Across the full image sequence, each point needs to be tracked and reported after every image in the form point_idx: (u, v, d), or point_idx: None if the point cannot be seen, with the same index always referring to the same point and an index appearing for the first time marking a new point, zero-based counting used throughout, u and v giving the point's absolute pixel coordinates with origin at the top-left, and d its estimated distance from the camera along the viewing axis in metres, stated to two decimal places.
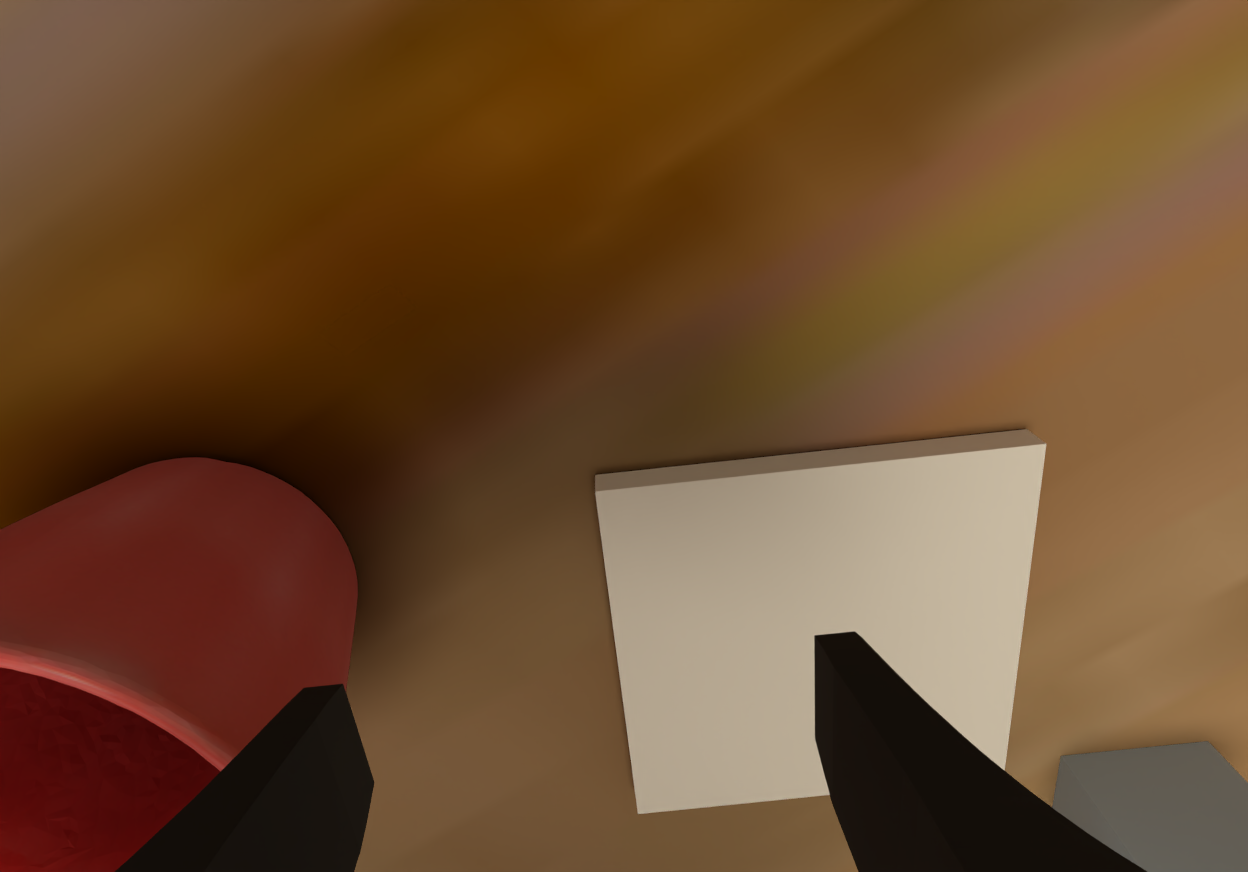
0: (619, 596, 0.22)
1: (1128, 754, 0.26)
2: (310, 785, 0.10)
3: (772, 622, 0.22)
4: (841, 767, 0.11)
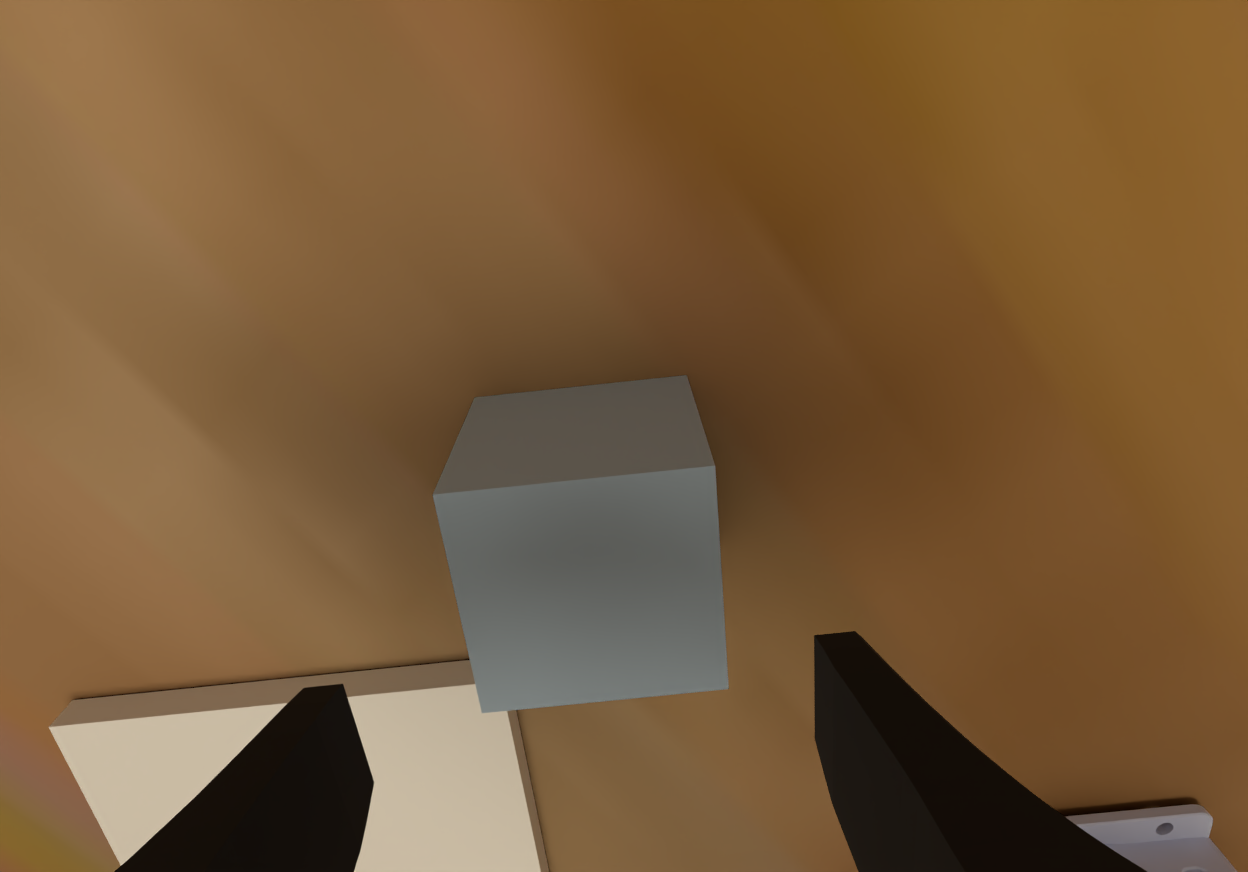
0: None
1: None
2: (310, 785, 0.10)
3: None
4: (841, 767, 0.11)
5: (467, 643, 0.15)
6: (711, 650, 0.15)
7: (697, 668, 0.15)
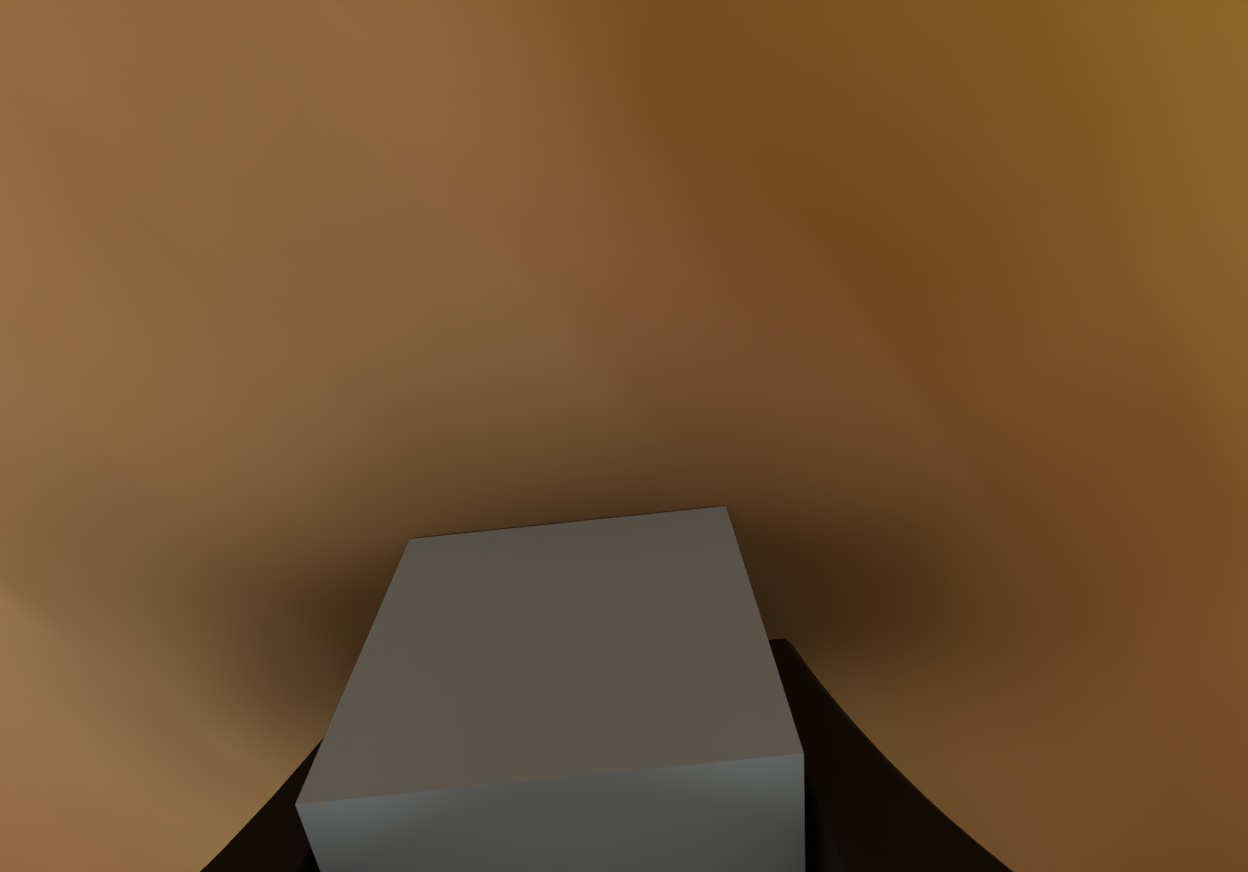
0: None
1: None
2: None
3: None
4: None
5: None
6: None
7: None
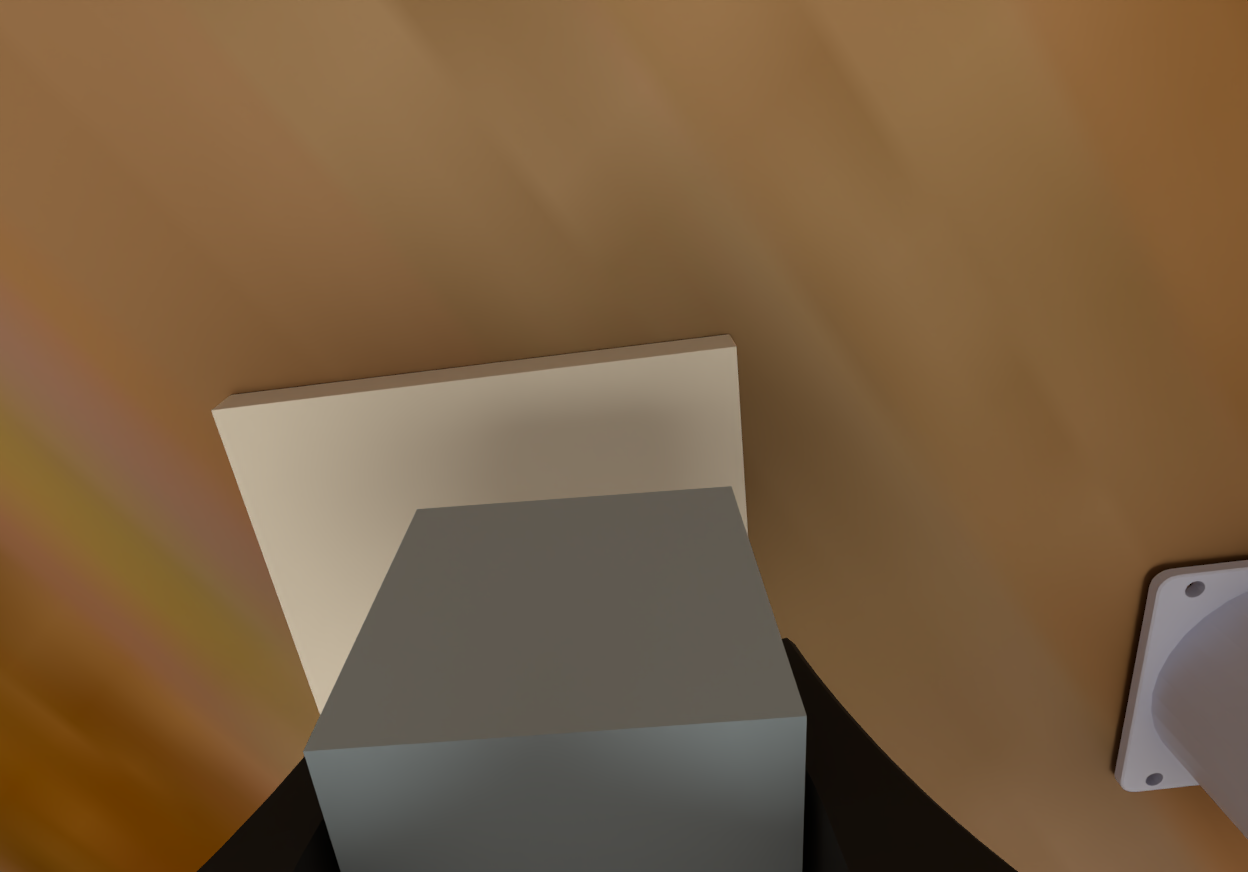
0: None
1: None
2: None
3: None
4: None
5: None
6: None
7: None
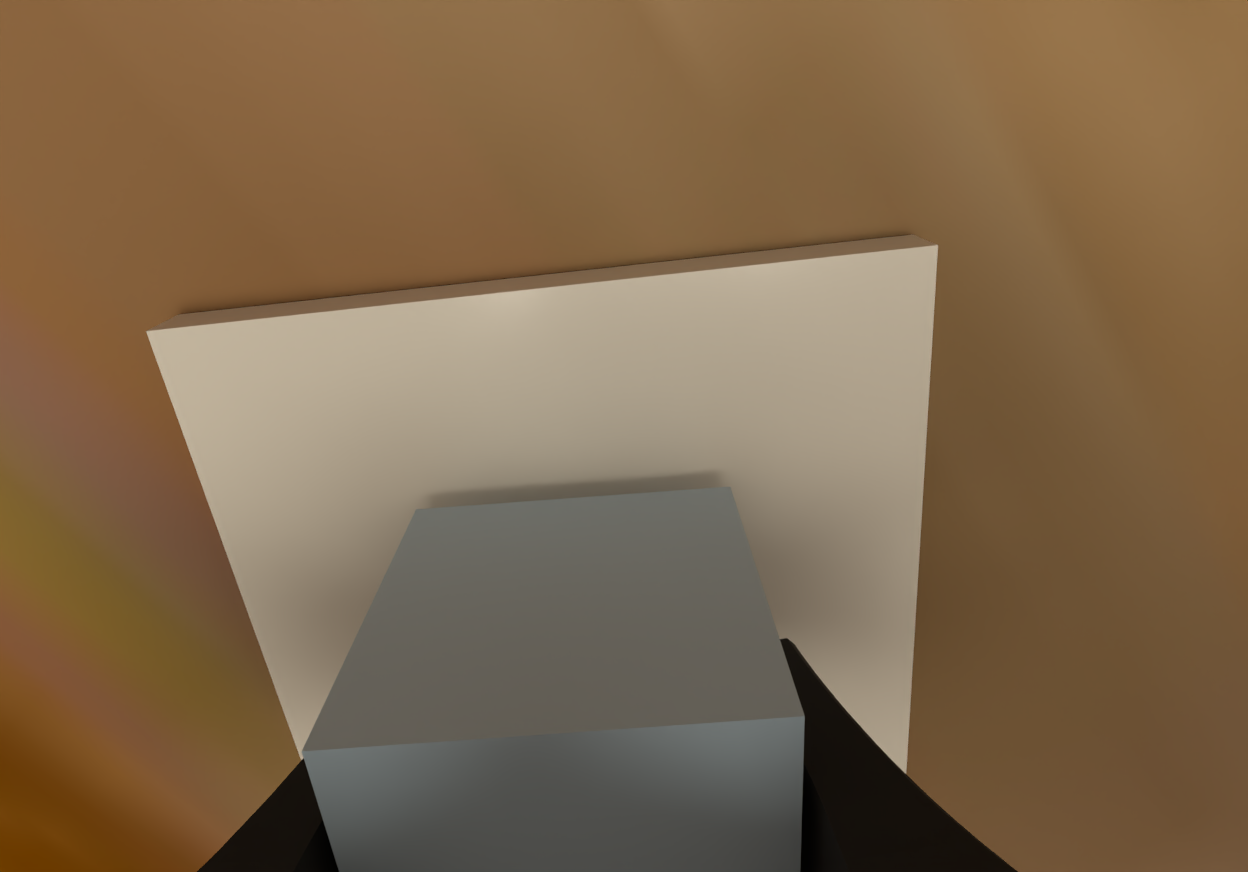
0: None
1: None
2: None
3: None
4: None
5: None
6: None
7: None
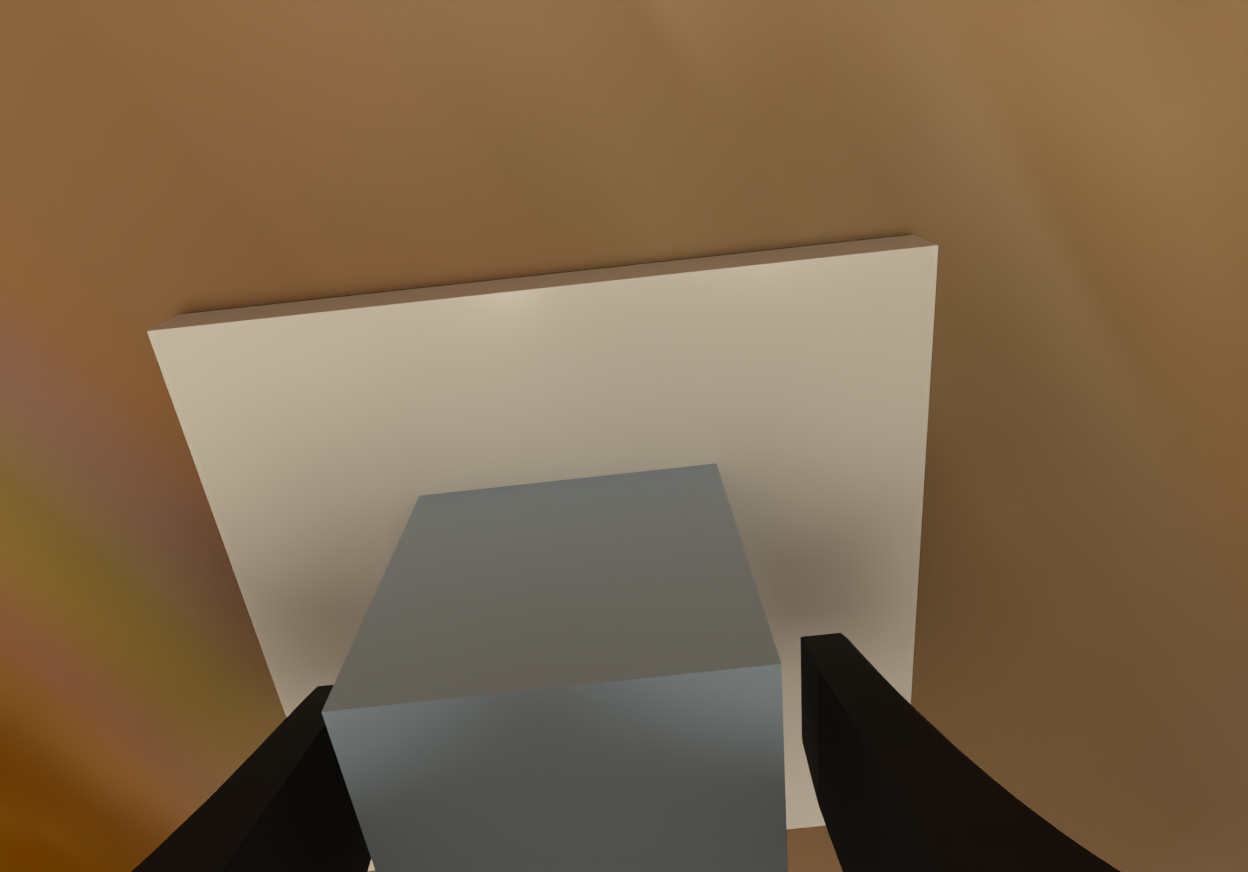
0: None
1: None
2: (325, 783, 0.10)
3: None
4: (826, 768, 0.11)
5: None
6: None
7: None
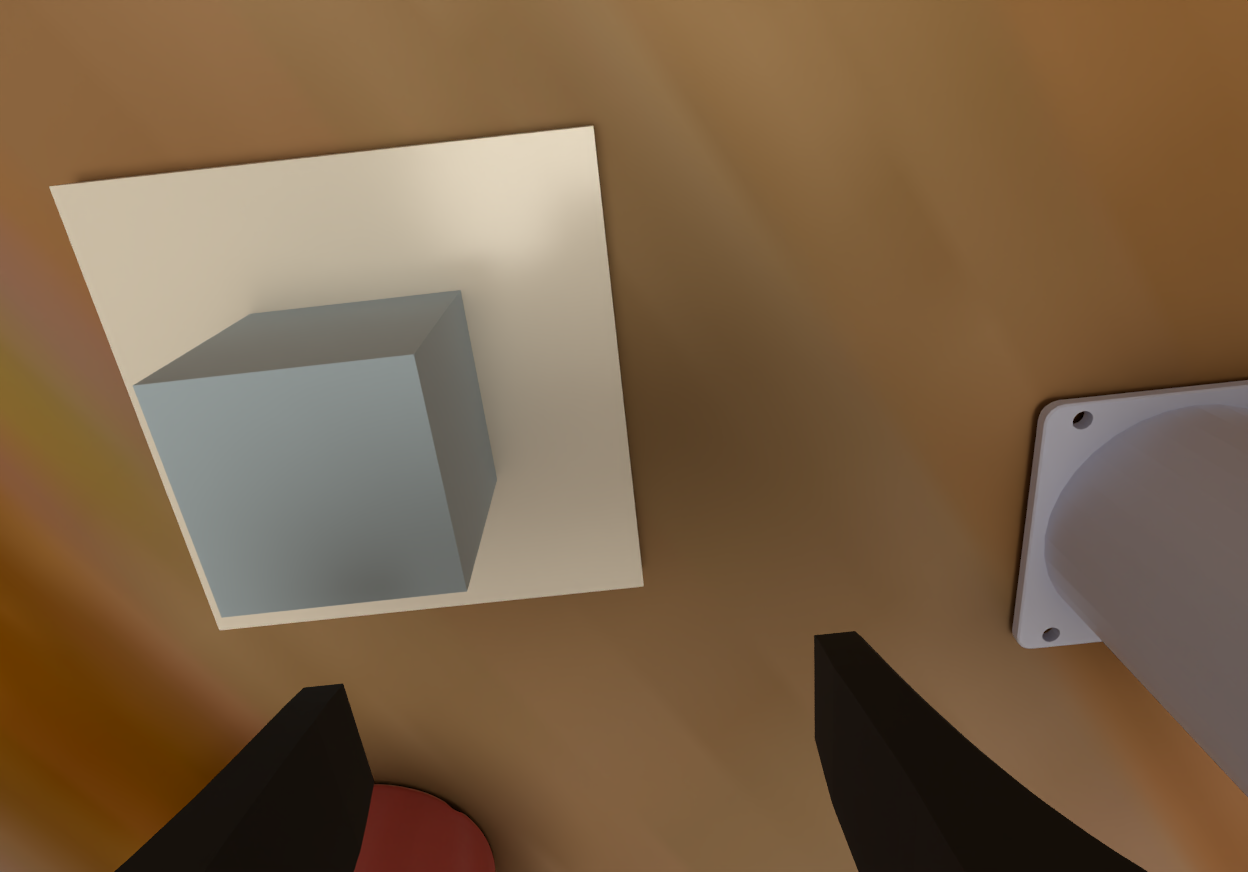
0: (337, 609, 0.22)
1: None
2: (310, 785, 0.10)
3: None
4: (841, 767, 0.11)
5: (194, 543, 0.15)
6: (443, 549, 0.15)
7: (431, 569, 0.15)
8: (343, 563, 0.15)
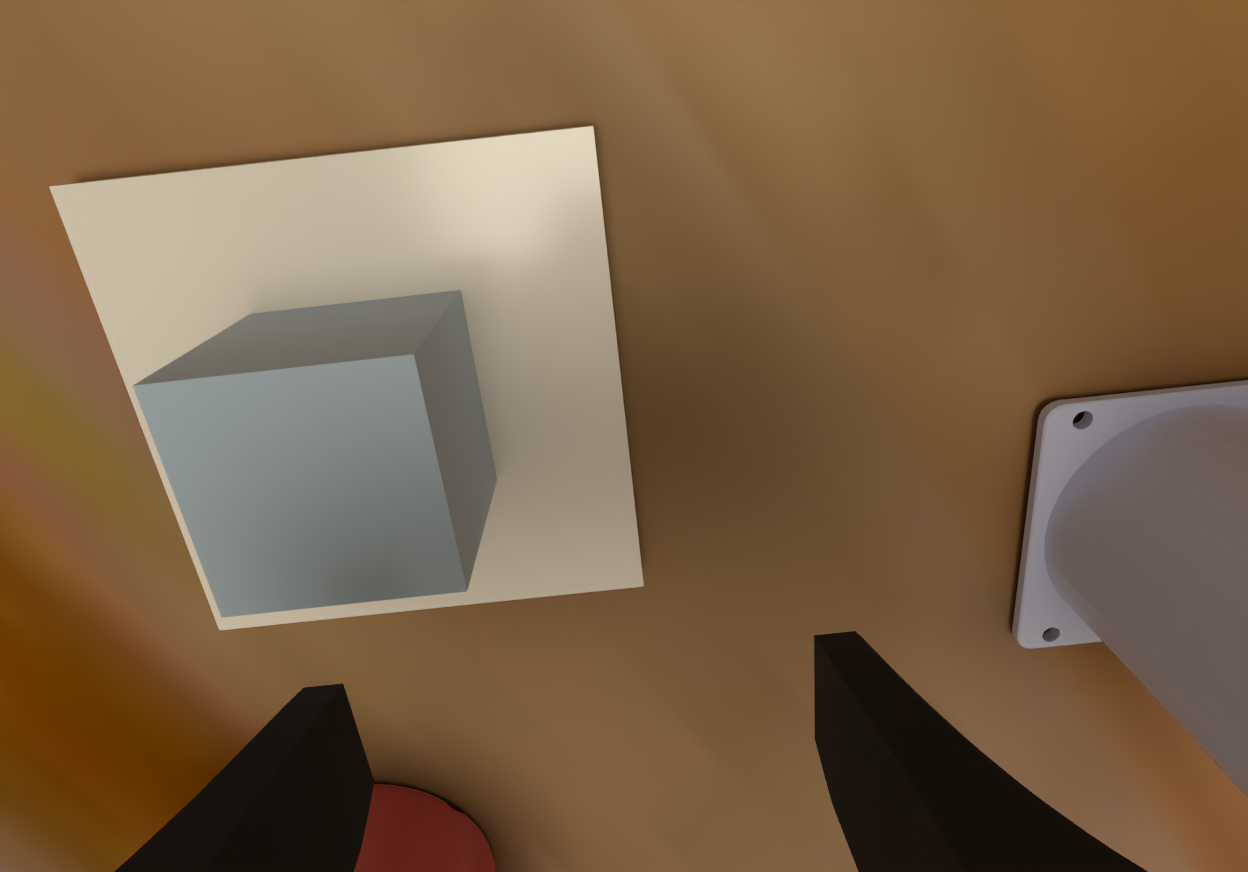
0: (337, 609, 0.22)
1: None
2: (310, 785, 0.10)
3: None
4: (841, 767, 0.11)
5: (194, 543, 0.15)
6: (443, 549, 0.15)
7: (431, 569, 0.15)
8: (343, 563, 0.15)
